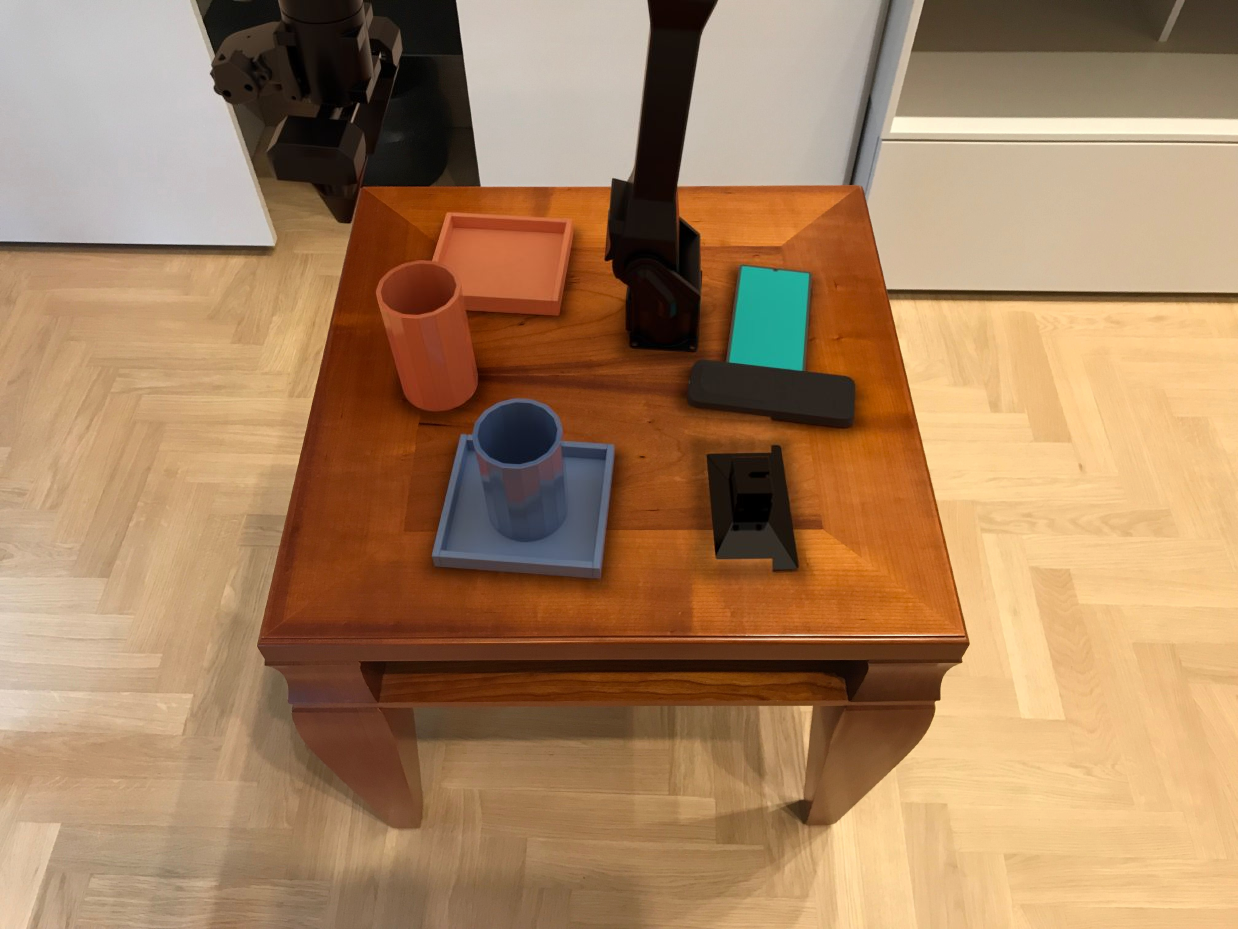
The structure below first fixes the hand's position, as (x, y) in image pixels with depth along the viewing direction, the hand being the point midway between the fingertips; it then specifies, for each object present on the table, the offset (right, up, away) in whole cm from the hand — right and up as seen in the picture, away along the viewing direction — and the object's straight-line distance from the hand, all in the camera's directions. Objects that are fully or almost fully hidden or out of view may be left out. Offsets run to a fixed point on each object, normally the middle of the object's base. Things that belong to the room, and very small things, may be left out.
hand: (356, 186), depth 79 cm
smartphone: (+36, -10, +12) cm, 40 cm away
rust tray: (+10, -4, +17) cm, 20 cm away
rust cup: (+6, -16, +7) cm, 19 cm away
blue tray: (+14, -27, -1) cm, 31 cm away
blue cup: (+14, -27, -1) cm, 31 cm away
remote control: (+36, -17, +6) cm, 40 cm away
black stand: (+33, -27, 0) cm, 42 cm away
